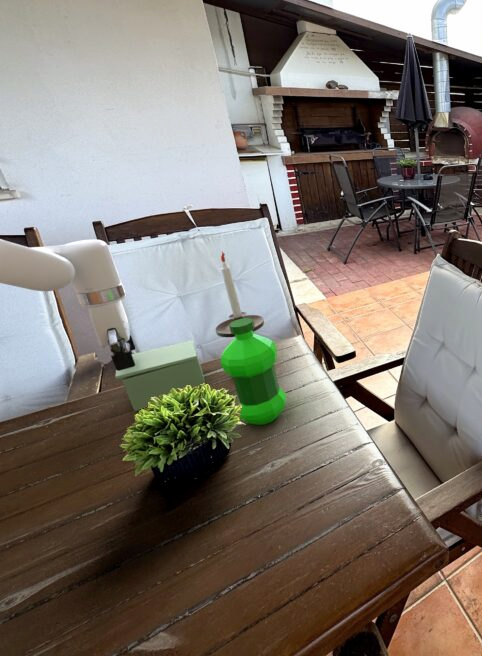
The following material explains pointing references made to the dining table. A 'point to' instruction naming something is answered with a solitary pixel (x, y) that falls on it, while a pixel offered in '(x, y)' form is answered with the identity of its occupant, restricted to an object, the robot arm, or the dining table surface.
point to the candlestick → (234, 305)
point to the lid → (159, 358)
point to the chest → (162, 381)
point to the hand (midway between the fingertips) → (126, 359)
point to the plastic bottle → (253, 373)
